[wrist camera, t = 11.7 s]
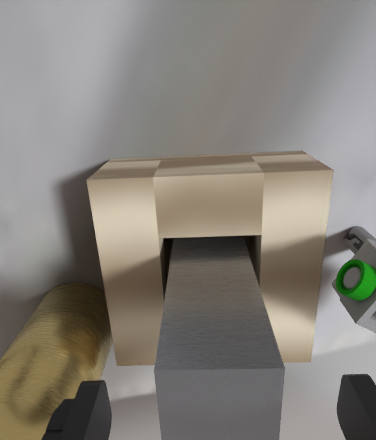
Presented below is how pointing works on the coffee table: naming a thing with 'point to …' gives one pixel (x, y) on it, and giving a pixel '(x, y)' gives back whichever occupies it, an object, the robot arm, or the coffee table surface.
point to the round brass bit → (53, 358)
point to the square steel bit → (216, 347)
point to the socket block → (208, 227)
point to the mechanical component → (359, 279)
